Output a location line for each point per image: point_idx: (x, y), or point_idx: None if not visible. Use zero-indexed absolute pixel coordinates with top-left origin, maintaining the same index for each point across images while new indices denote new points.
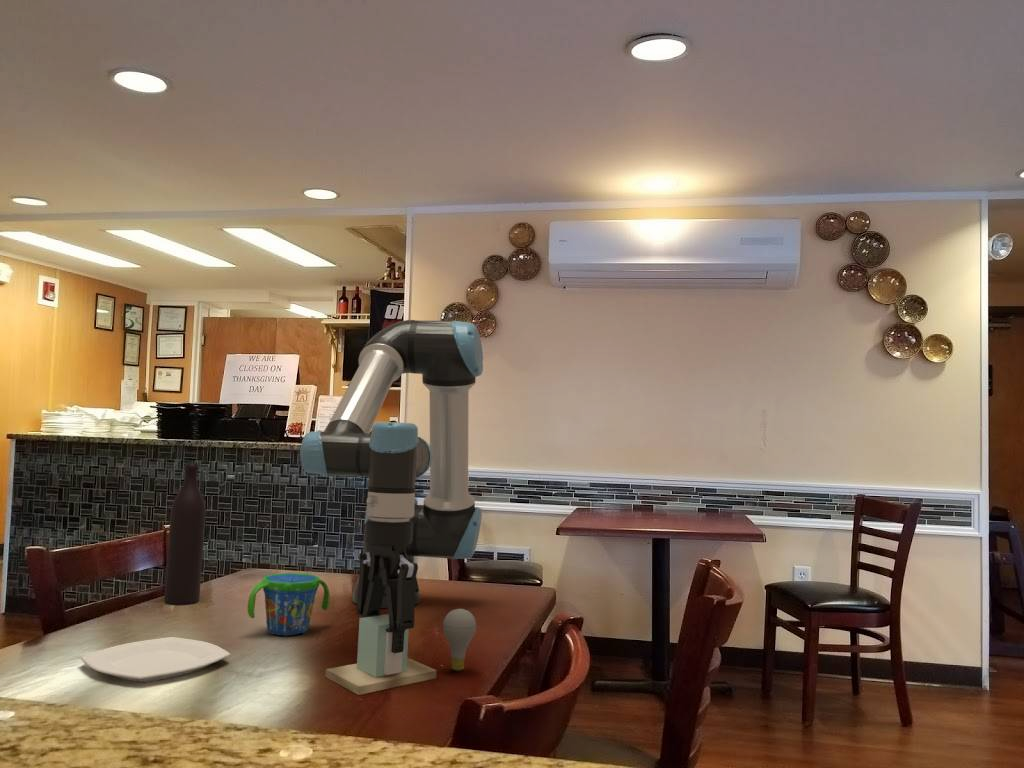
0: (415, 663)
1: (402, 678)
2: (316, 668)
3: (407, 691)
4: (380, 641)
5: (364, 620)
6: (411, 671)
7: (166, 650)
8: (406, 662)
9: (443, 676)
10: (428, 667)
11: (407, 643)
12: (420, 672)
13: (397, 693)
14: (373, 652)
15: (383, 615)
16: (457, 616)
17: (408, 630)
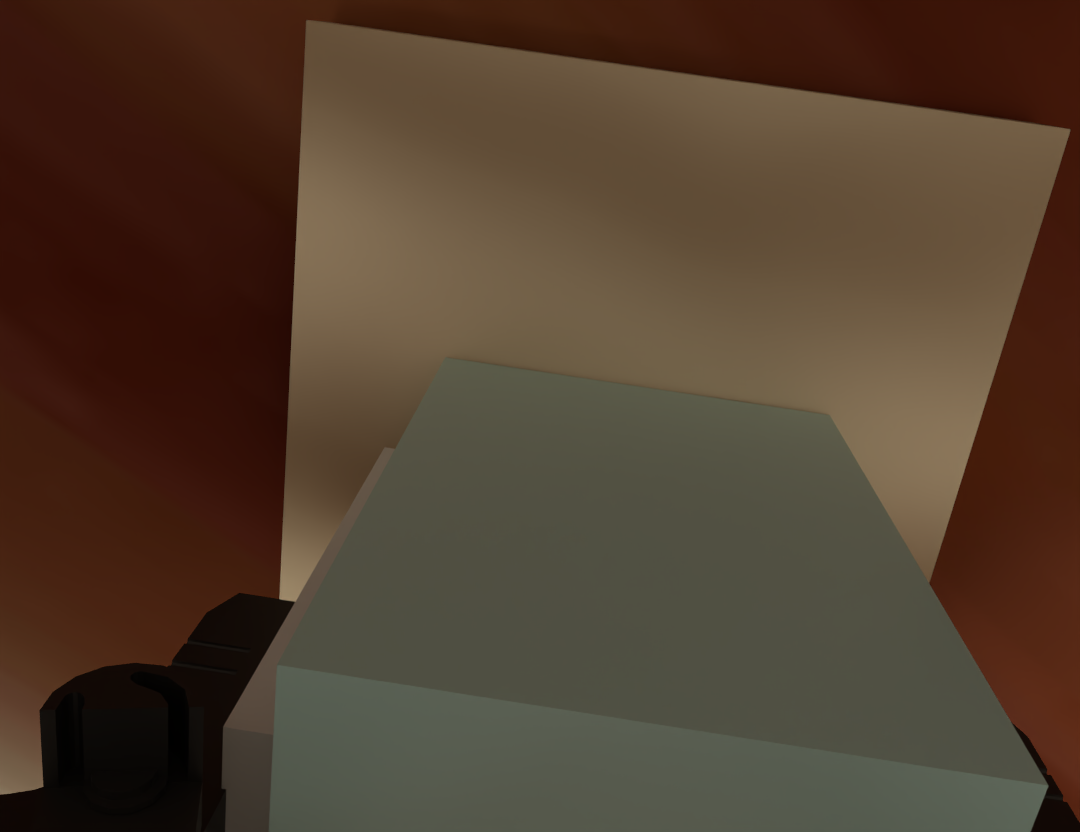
0: (688, 133)
1: (933, 560)
2: (39, 721)
3: (1054, 590)
4: None
5: None
6: (866, 371)
7: None
8: (847, 454)
9: (1055, 3)
10: (916, 122)
11: (910, 561)
12: (967, 324)
13: (1017, 675)
14: None
15: (314, 823)
16: None
17: (977, 667)
